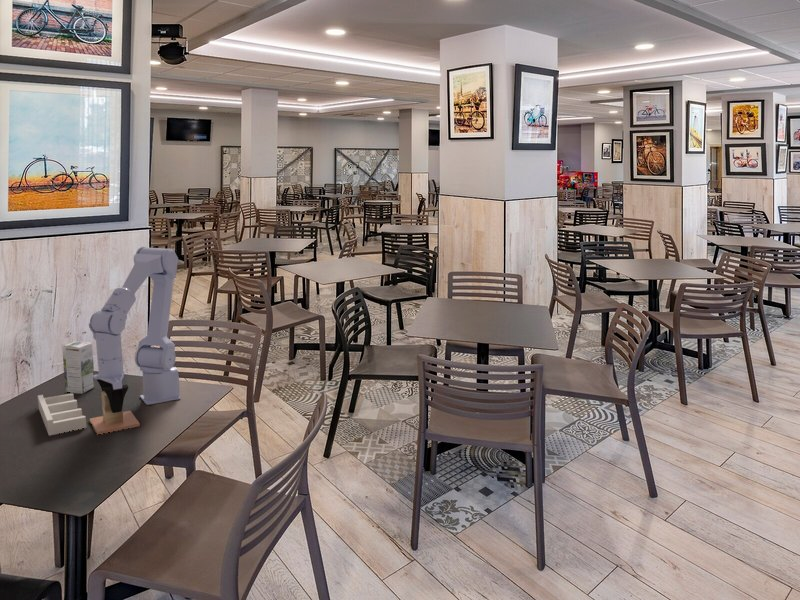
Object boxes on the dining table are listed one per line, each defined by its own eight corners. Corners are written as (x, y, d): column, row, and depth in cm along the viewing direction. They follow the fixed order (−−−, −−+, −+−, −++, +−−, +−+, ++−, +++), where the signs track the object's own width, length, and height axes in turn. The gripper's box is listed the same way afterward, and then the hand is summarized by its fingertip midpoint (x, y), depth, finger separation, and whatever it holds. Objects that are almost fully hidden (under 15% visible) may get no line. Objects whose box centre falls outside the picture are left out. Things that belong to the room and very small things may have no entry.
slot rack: (73, 403, 165) (72, 389, 164) (86, 427, 150) (85, 413, 149) (38, 409, 160) (37, 395, 159) (48, 435, 145) (47, 420, 144)
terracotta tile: (130, 413, 159) (130, 410, 159) (139, 426, 152) (139, 423, 152) (89, 421, 154) (89, 418, 153) (97, 435, 146) (97, 432, 146)
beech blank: (119, 416, 155) (117, 388, 153) (123, 422, 152) (121, 393, 150) (103, 420, 153) (101, 391, 151) (106, 425, 150) (104, 396, 148)
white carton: (78, 386, 178) (74, 340, 175) (96, 387, 177) (92, 341, 174) (65, 392, 172) (60, 345, 170) (83, 394, 172) (79, 347, 169)
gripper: (87, 352, 152) (91, 401, 155) (98, 367, 141) (102, 420, 144) (116, 348, 156) (119, 395, 159) (129, 362, 145) (133, 413, 148)
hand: (113, 407), depth 152 cm, fingers open, 7 cm apart
